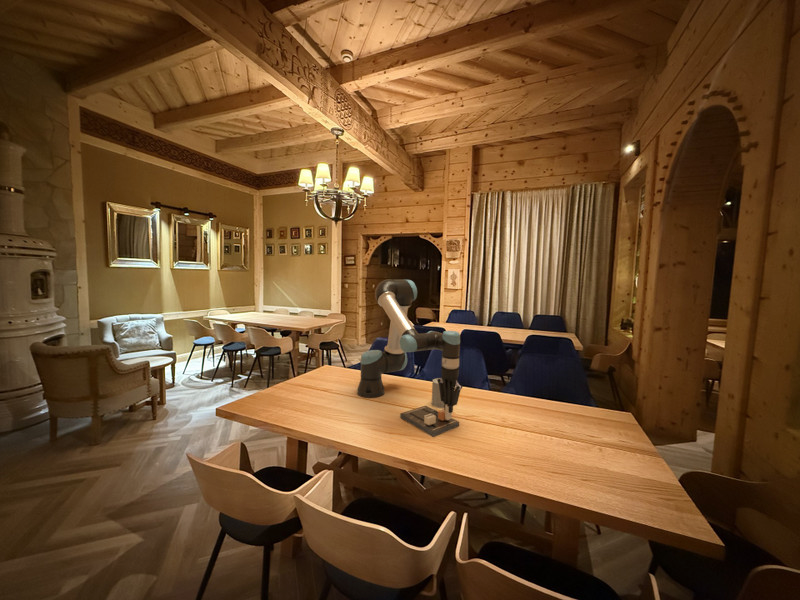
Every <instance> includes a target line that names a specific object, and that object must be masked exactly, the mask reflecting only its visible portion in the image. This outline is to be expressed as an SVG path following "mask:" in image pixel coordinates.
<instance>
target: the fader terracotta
mask: <svg viewBox="0 0 800 600" xmlns="http://www.w3.org/2000/svg"><path fill="white" fill-rule="evenodd" d="M438 419H440V420H442V421H443V420H446V419H445V410H444V408H442V409H440V410H438Z"/></svg>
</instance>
